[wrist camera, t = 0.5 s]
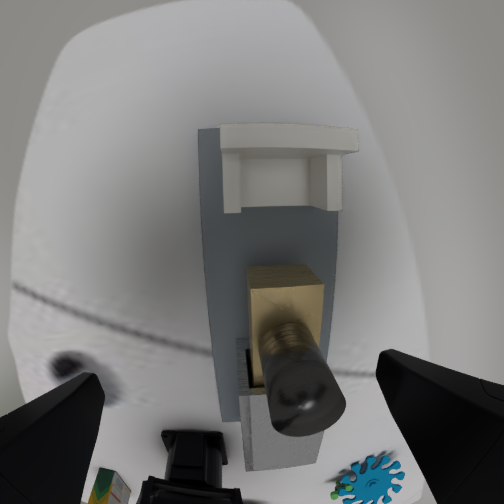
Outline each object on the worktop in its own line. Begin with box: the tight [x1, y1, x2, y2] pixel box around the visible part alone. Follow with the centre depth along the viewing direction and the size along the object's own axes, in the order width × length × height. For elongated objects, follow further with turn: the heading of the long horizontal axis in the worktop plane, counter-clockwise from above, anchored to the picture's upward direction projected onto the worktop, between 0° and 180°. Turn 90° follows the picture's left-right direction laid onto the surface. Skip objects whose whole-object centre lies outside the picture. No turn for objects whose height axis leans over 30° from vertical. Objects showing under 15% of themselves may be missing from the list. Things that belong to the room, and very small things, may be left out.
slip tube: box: [247, 264, 346, 437], centre depth 14 cm, size 14×4×9 cm, turn 2°
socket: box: [220, 123, 359, 213], centre depth 14 cm, size 4×6×6 cm, turn 91°
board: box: [198, 128, 338, 422], centre depth 20 cm, size 24×9×1 cm, turn 2°
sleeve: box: [236, 338, 324, 471], centre depth 18 cm, size 9×5×6 cm, turn 2°
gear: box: [330, 455, 405, 504], centre depth 26 cm, size 11×6×10 cm
